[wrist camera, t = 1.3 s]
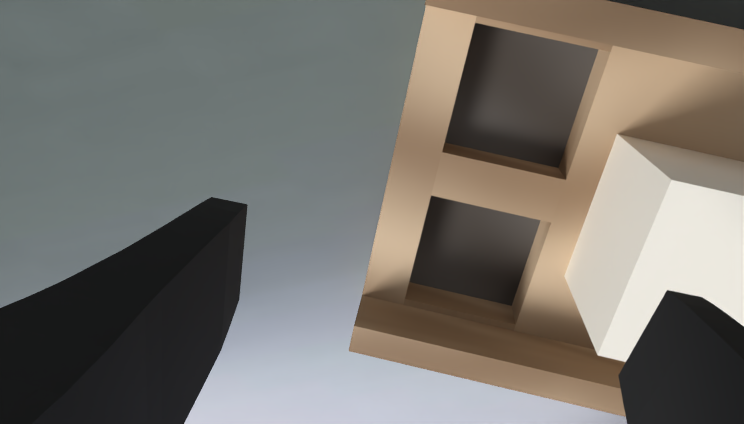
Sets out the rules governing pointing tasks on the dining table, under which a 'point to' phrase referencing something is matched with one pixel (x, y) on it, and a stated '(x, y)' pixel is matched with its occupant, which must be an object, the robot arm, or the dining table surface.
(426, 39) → the tray
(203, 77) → the dining table surface
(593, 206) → the block
